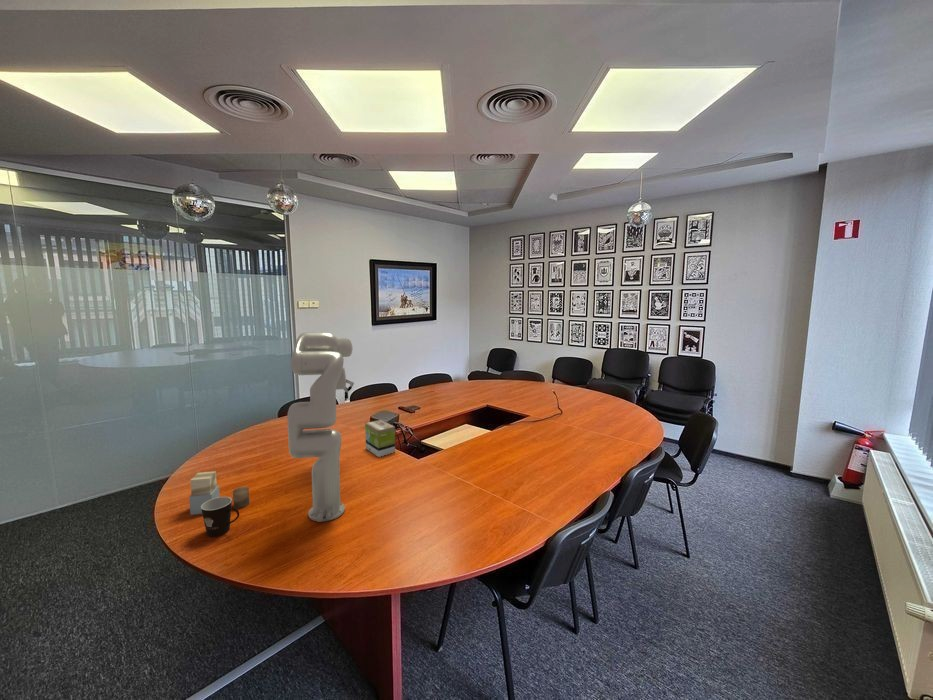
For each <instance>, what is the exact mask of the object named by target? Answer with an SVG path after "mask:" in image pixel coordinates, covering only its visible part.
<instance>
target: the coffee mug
mask: <svg viewBox="0 0 933 700" xmlns="http://www.w3.org/2000/svg"><path fill="white" fill-rule="evenodd" d="M232 505H233V498H232V497H229V496H220V497H218V498H214V499H211V500H208V501H206V502H205V503H203V504H202V505H201V510H202V514H201V515H202V518H203V522H204V527H205V532H206V536H207V537H208V538H217V537H220V536H224V535H225V534H227V533H228V532H229V531H230V529H231V524H233V522H236V521H237V520H238V519H239V517H240V512H239V509H237V508H234V507H232ZM232 511H234V512H236V517H235V518H233V520H231V517H232Z"/></svg>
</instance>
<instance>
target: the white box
mask: <svg viewBox="0 0 933 700" xmlns="http://www.w3.org/2000/svg"><path fill="white" fill-rule="evenodd" d="M218 497H221V496H220V486H219V485H217V487H216V488H215V489H214V490H213V492H212V493H211V494H206V495H196V496H191V494H190V495H189V497H188V499H189V510H190V511H189V513H190V516H193V515H202V510H201V505H202V504H203V503H205V502H206V501H208V500H211V499H214V498H218Z"/></svg>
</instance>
